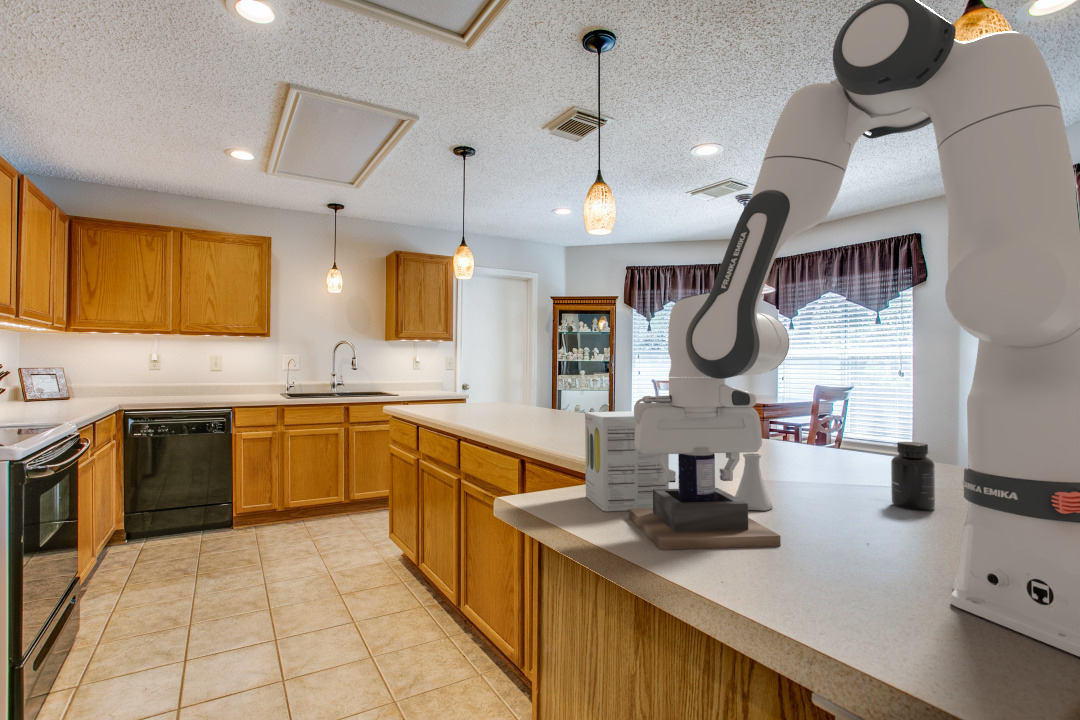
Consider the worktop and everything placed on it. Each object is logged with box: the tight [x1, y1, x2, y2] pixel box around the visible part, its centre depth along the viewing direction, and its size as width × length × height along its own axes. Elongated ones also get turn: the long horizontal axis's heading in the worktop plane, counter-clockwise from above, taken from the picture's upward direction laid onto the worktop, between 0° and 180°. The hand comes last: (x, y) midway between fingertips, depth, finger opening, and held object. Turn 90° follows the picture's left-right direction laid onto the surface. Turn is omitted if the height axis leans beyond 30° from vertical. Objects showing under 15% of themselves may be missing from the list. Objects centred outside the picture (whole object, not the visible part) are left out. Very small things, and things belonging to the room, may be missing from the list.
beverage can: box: [677, 448, 716, 503], centre depth 89 cm, size 6×6×12 cm
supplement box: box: [584, 410, 670, 512], centre depth 108 cm, size 13×13×18 cm
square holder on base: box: [628, 487, 782, 551], centre depth 89 cm, size 18×18×6 cm
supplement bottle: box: [890, 441, 936, 512], centre depth 104 cm, size 7×7×12 cm
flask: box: [734, 452, 774, 512], centre depth 104 cm, size 7×7×10 cm
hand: (698, 481), depth 89 cm, fingers open, 8 cm apart
